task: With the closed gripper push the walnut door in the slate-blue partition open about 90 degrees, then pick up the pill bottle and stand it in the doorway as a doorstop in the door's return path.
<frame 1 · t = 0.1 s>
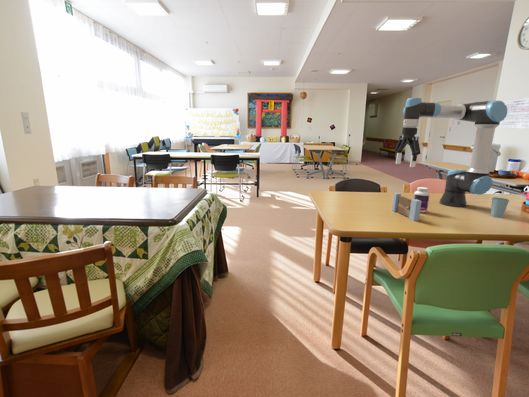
hand: (404, 165, 167), 28 cm above the table, fingers open, 13 cm apart
door: (404, 206, 167), point 5 cm above the table, hinge at 0.0°
pill bottle: (419, 211, 177), on the table
cup: (496, 216, 170), on the table
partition: (404, 215, 168), on the table
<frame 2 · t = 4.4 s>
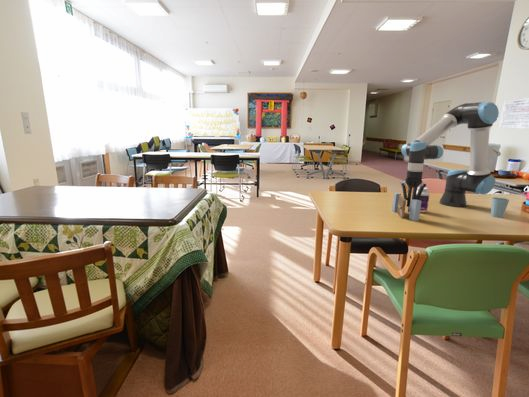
hand: (409, 212, 165), 3 cm above the table, fingers closed
door: (399, 206, 167), point 5 cm above the table, hinge at 22.2°, touching gripper, hand
everything else where it was.
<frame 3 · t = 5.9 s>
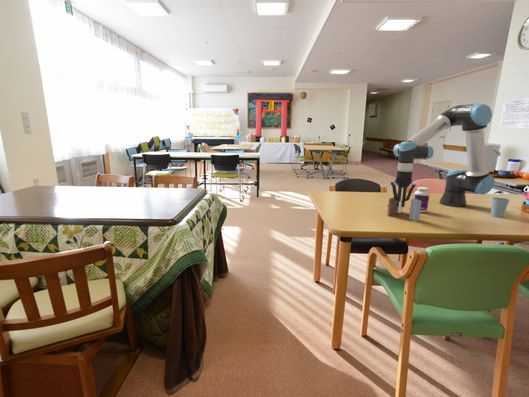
hand: (399, 212, 165), 2 cm above the table, fingers closed
door: (393, 205, 169), point 5 cm above the table, hinge at 58.5°, touching hand
everything else where it was.
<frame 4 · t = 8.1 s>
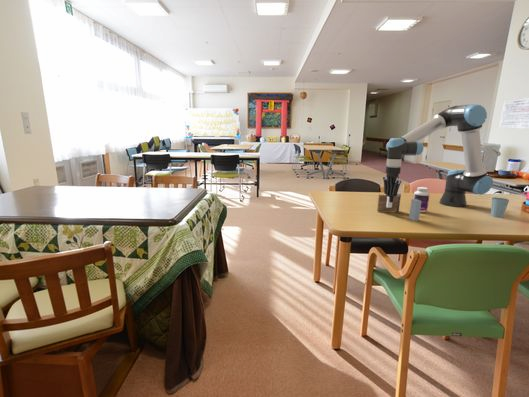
hand: (388, 207, 169), 4 cm above the table, fingers closed
door: (388, 203, 173), point 5 cm above the table, hinge at 103.3°
everything else where it was.
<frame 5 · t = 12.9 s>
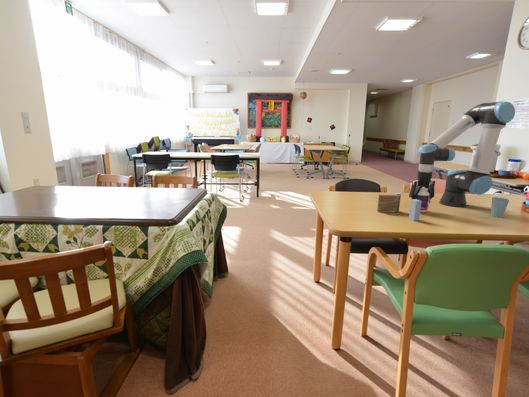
hand: (419, 208, 177), 2 cm above the table, fingers closed on pill bottle, 8 cm apart
pill bottle: (419, 211, 177), on the table, touching gripper
everything else where it was.
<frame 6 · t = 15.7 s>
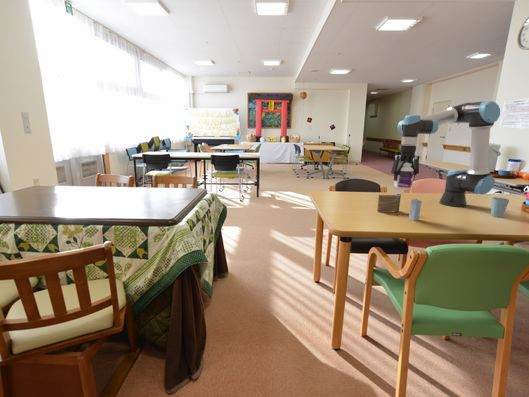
hand: (403, 186, 163), 17 cm above the table, fingers closed on pill bottle, 8 cm apart
pill bottle: (402, 189, 163), point 15 cm above the table, touching gripper
everything else where it was.
when the fingers open (3 cm above the table, at t = 18.7 s): pill bottle drops 1 cm, on the table.
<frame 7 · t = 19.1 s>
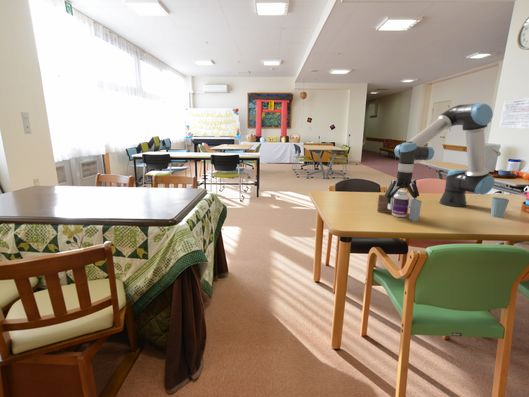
hand: (400, 208, 166), 4 cm above the table, fingers open, 13 cm apart
pill bottle: (399, 216, 167), on the table
everything else where it was.
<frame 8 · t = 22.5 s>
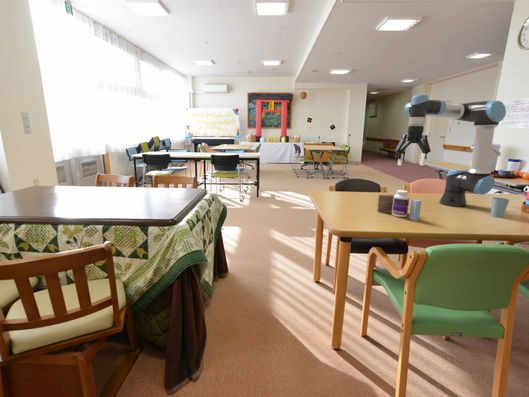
hand: (410, 165, 161), 29 cm above the table, fingers open, 13 cm apart
nothing on the table moved.
at the end: door at +103° (first picture: +0°); pill bottle inside the target area (1.3 cm from its centre), on the table; pill bottle tilted 0° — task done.
